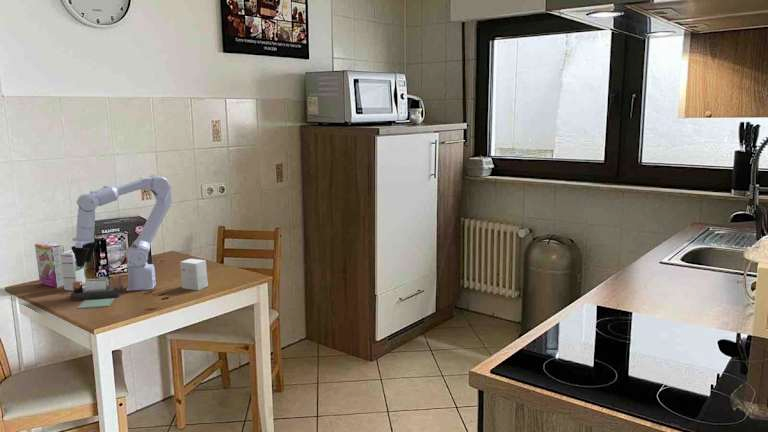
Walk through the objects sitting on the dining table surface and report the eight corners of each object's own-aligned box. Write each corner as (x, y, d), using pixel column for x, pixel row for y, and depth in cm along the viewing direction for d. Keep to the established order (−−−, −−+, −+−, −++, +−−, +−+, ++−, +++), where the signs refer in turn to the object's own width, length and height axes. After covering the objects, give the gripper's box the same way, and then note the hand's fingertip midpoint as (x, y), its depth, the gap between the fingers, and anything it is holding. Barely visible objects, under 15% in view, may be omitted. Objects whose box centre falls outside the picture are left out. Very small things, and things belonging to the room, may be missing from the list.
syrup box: (77, 291, 220) (73, 253, 217) (63, 290, 221) (59, 253, 219) (87, 286, 225) (83, 250, 223) (74, 285, 227) (70, 249, 224)
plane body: (123, 291, 219) (121, 273, 217) (118, 297, 212) (117, 278, 211) (77, 294, 216) (75, 276, 214) (71, 300, 209) (69, 281, 208)
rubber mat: (114, 299, 209) (114, 298, 209) (108, 306, 202) (108, 305, 202) (84, 301, 207) (84, 300, 207) (77, 308, 200) (77, 307, 200)
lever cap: (108, 286, 216) (107, 276, 215) (106, 290, 212) (104, 279, 211) (88, 288, 215) (87, 277, 214) (85, 291, 211) (84, 280, 210)
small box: (208, 286, 223) (206, 260, 221) (198, 290, 218) (196, 263, 216) (192, 284, 226) (190, 258, 225) (181, 288, 221) (179, 261, 220)
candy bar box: (39, 284, 229) (33, 244, 226) (51, 281, 233) (46, 241, 230) (56, 288, 223) (51, 246, 220) (68, 285, 228) (64, 244, 225)
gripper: (80, 223, 216) (78, 259, 217) (66, 229, 202) (64, 267, 203) (100, 225, 217) (98, 260, 218) (88, 230, 203) (86, 268, 204)
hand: (83, 264), depth 211 cm, fingers open, 7 cm apart
